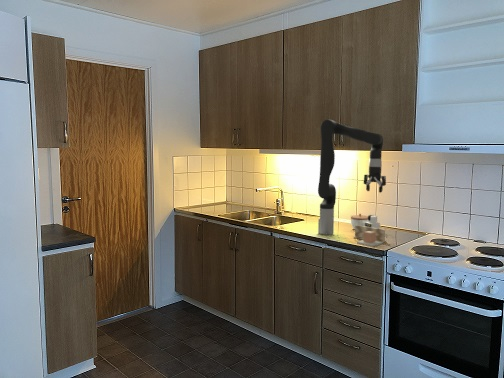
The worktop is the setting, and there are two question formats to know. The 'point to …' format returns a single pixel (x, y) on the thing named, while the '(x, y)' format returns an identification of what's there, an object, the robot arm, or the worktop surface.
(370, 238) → the terracotta block
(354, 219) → the lidded bowl
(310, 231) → the worktop surface
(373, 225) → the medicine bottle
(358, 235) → the birch screen
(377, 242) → the pale green pad
